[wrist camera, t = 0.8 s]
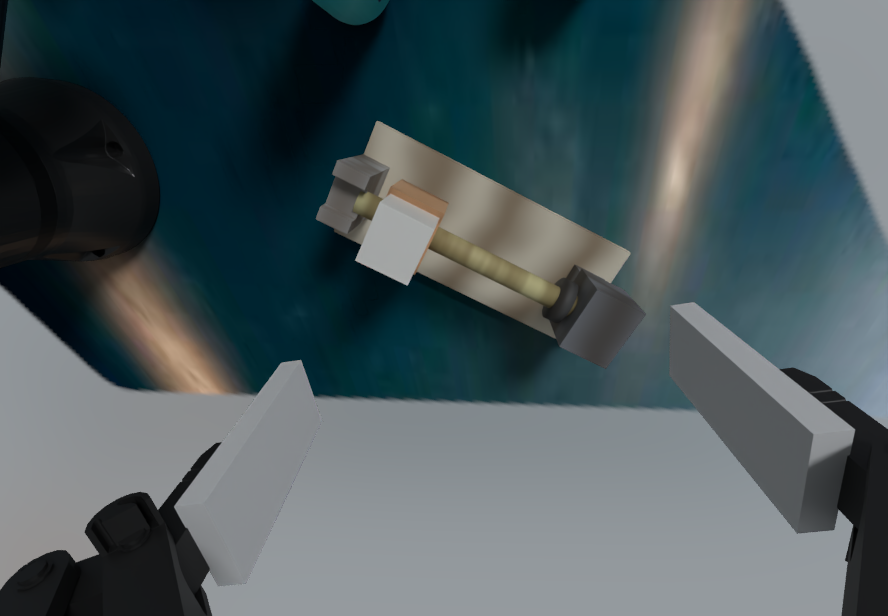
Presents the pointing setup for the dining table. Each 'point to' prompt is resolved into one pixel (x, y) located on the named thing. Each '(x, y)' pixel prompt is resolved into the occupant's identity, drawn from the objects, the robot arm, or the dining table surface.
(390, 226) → the two-tone block
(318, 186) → the dining table surface
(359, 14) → the beverage can
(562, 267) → the cord rig
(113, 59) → the dining table surface
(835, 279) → the dining table surface
